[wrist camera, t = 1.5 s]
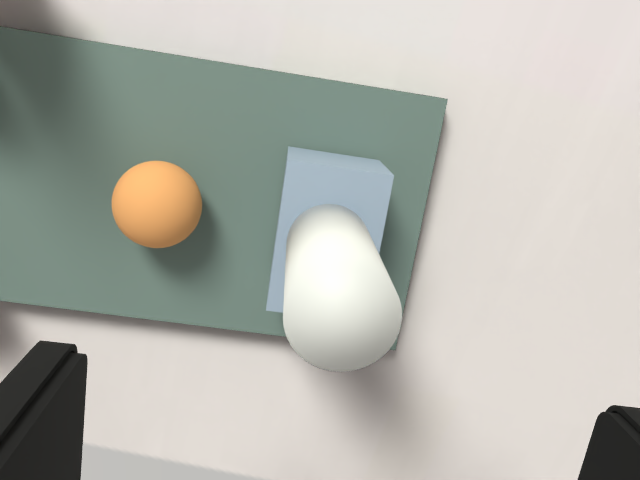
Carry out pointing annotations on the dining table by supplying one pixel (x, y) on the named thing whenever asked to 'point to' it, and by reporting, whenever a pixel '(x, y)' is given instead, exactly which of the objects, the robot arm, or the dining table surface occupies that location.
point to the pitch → (196, 159)
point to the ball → (156, 204)
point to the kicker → (334, 260)
